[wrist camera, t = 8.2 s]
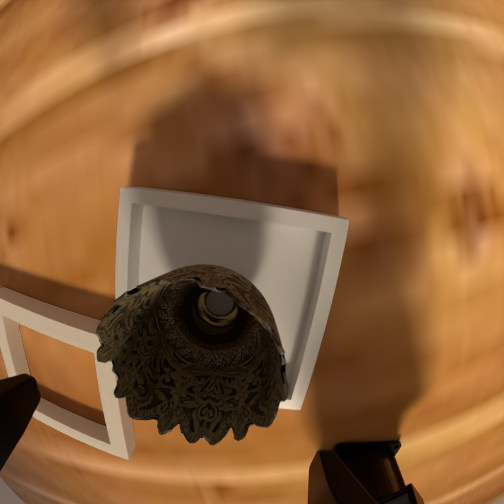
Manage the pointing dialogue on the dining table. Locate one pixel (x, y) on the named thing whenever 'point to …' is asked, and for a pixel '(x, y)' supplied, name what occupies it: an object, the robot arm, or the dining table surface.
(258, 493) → the dining table surface
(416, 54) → the dining table surface
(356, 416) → the dining table surface
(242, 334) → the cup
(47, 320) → the white flat square frame
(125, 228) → the grey tray
